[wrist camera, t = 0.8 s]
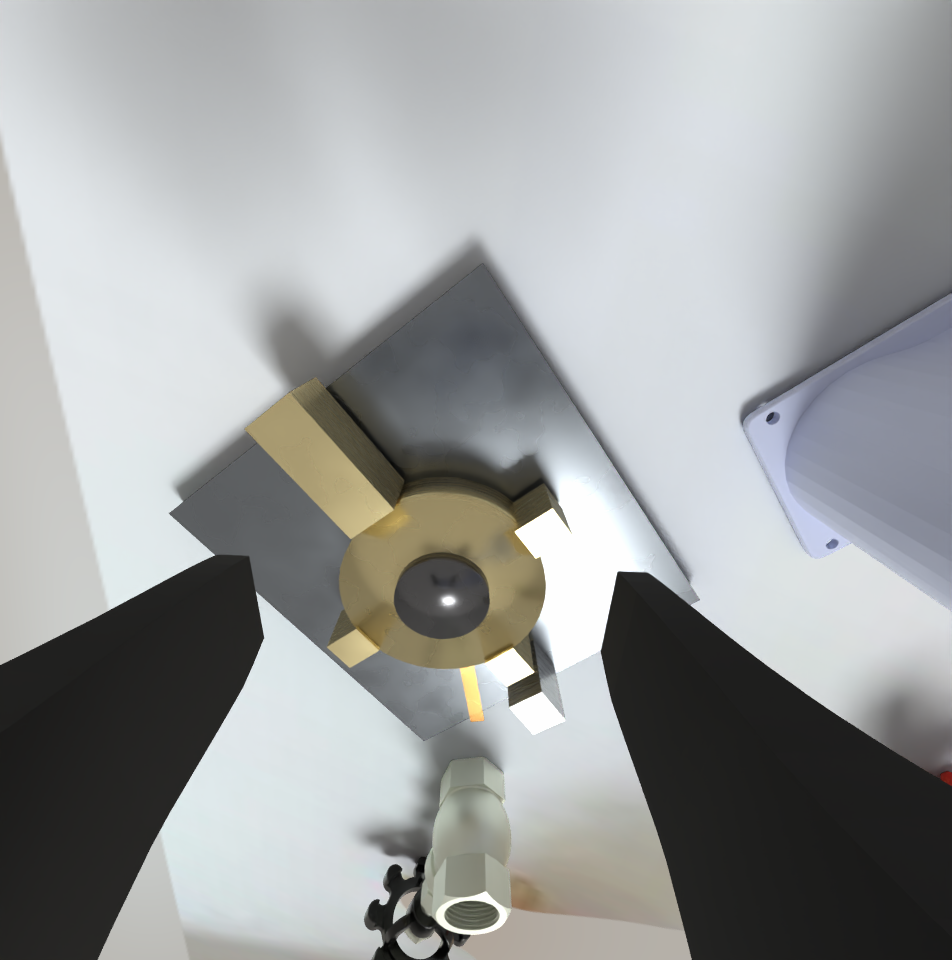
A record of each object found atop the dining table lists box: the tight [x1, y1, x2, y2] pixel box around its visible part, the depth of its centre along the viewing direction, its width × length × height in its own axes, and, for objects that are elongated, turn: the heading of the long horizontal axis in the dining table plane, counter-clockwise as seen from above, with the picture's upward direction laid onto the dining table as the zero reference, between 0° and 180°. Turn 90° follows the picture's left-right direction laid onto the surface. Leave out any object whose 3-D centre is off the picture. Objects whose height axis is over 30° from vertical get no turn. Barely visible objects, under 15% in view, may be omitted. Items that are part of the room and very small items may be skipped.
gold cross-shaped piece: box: [245, 377, 573, 686], centre depth 17 cm, size 14×11×3 cm
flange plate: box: [169, 263, 700, 741], centre depth 19 cm, size 16×18×4 cm
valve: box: [364, 757, 512, 960], centre depth 25 cm, size 7×7×12 cm
